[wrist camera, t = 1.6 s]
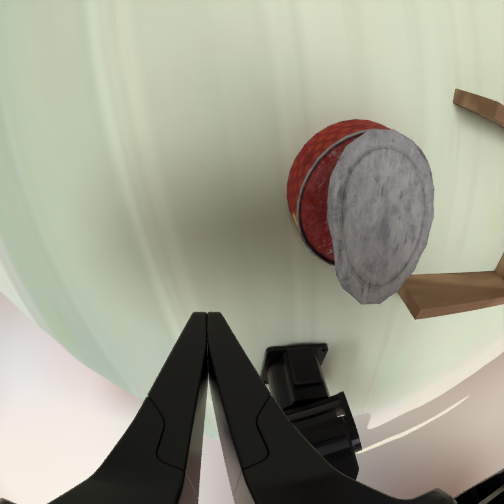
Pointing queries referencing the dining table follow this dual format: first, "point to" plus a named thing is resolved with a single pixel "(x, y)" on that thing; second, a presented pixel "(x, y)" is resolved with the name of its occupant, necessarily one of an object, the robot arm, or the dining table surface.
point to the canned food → (363, 205)
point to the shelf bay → (458, 284)
